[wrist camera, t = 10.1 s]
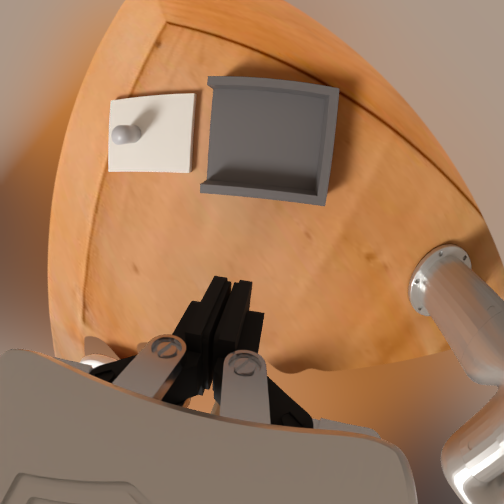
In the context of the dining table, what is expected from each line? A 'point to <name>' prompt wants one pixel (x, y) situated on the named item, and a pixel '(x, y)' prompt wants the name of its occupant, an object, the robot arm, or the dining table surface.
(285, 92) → the dark box
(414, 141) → the dining table surface
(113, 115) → the cover plate
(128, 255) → the dining table surface
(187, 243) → the dining table surface
